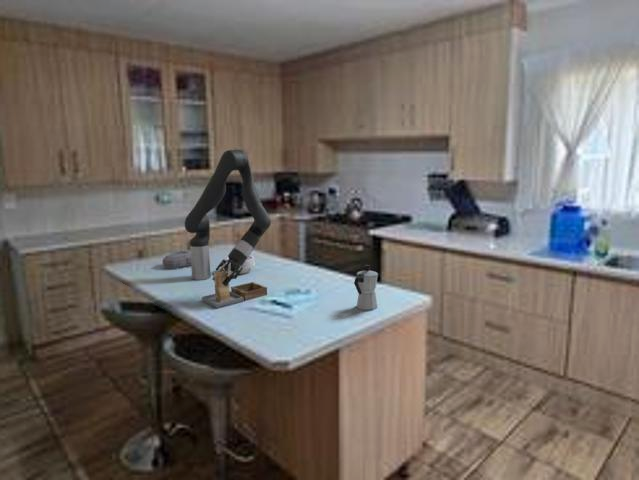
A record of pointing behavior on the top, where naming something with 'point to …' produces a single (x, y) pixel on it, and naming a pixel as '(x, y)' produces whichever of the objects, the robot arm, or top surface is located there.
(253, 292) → the square wooden frame
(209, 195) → the robot arm
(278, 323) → the top surface
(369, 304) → the coffee maker
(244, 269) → the paper bowls
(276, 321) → the top surface
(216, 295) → the oak peg
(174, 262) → the grey rounded bag
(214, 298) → the tray
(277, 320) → the top surface
